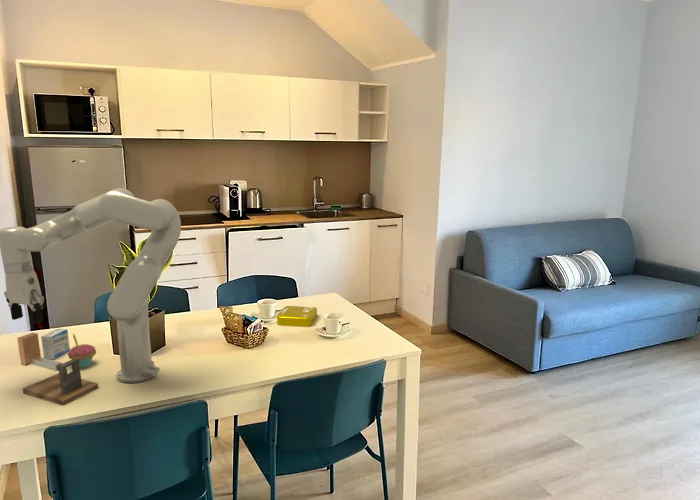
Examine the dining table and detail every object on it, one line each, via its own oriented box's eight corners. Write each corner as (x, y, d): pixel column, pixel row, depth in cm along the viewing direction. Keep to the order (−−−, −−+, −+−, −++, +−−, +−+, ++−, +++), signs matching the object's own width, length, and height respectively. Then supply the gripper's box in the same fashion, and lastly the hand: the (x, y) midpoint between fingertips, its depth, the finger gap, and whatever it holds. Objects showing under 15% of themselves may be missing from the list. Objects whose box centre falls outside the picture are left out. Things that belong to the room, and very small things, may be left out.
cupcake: (69, 372, 172) (65, 338, 169) (69, 362, 179) (65, 330, 177) (97, 367, 176) (94, 334, 173) (96, 357, 183) (93, 326, 181)
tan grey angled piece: (67, 366, 160) (63, 339, 158) (52, 373, 155) (48, 345, 153) (36, 358, 166) (32, 332, 164) (21, 364, 161) (17, 337, 159)
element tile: (285, 314, 231) (285, 304, 230) (318, 316, 228) (318, 306, 227) (275, 326, 216) (275, 315, 215) (310, 328, 214) (310, 317, 213)
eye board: (98, 387, 161) (94, 357, 159) (63, 405, 150) (59, 372, 148) (59, 377, 168) (55, 347, 166) (23, 393, 157) (18, 361, 155)
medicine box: (54, 359, 181) (51, 336, 180) (43, 358, 182) (40, 335, 181) (70, 351, 189) (67, 328, 187) (60, 350, 190) (57, 328, 188)
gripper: (49, 266, 156) (57, 319, 160) (12, 262, 163) (21, 313, 167) (25, 272, 149) (34, 327, 153) (-12, 268, 156) (-2, 321, 160)
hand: (27, 320), depth 160 cm, fingers open, 9 cm apart
